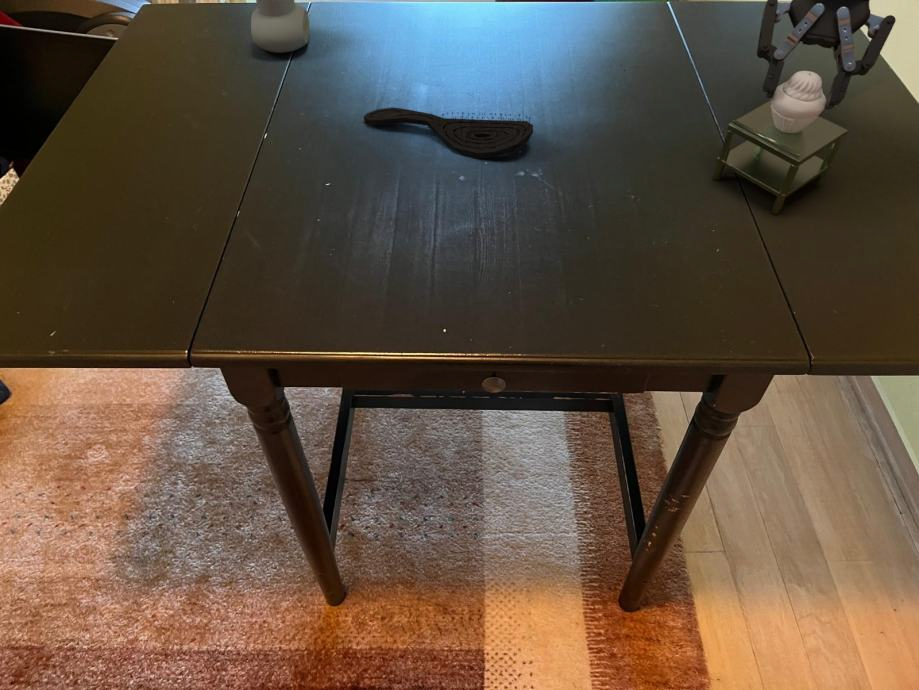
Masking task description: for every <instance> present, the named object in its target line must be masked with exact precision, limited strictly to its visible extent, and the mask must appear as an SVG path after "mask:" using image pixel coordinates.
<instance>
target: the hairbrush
mask: <svg viewBox="0 0 919 690" xmlns="http://www.w3.org/2000/svg"><path fill="white" fill-rule="evenodd" d="M456 113H457V114H459V111H457V112H456ZM464 113H465V112H461V118H458V116H454V117H450V118H449V117H444V115H445V114H444V113H442V114H441V116H438V115H436V114H433V113H429V112H428V113H427V112H423V111H417V110H413V109H407V108H400V107H394V106H393V107H386V108H385V107H384V108H378V109H374V110H372V111H368V112H367V113H365V114H364V115H363V122H364V123H366V124H367V125H370V126H381V125H394V124H395V125H397V124H411V125H418V126H419V125H420V126H426V127H428V128H429V130H431V132H433V133H434V135H436V136H437V137H438V138H439V139H440V140H441V142H443V144H444V145H445V146H446V147H447V148H449V149H450V150H452V151H454V152H456V153H458V154H459V155H461V156H466V157H471V158H475V159H481V158H482V159H484V158H485V159H486V158H497V157H500V156H502V155H505V154H508V153H511V152H513V151H516V150H517V149H519V148H520V147H521V146H523V145H525V143H527V142H529V140H530V138H531V137H532V135H533V133H534V124H532V123H531V117H530V116H527V115H525V118H528V119H529V120H524V118H522V119H523V120H522V119H521V118H520V117H521V113H518V116H519V117H518V118H516V116H517V115H516V114H514V118H510V117H511V116H512V114H511V113H510V114H509V117H508V118H507V119H505V118H506V116H507V113H505V114H504V116H505V117H502V116H503V114H502V113H499V115H500V117H497V118H498V119H494V118H495V117H494V116H491V119H489V116H487V119H484V116H481V119H479V116H480V115H483V113H482V112H478V116H476V118H474V116H471V117H469V116H470V113H469V112H468V115H467V116H468V117H467V116H465V118H464ZM446 114H447V115H448V114H449V113H448V112H446ZM453 114H454V112H453V111H452V112H451V115H453ZM471 115H474V112H472V113H471ZM489 115H492V112H490V113H489ZM494 115H495V116H496V113H494ZM500 118H502V119H500ZM515 118H516V120H515ZM499 119H500V120H499Z"/></svg>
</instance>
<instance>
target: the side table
mask: <svg viewBox="0 0 919 690" xmlns="http://www.w3.org/2000/svg"><path fill="white" fill-rule="evenodd" d="M726 130H727V132H726V135H725V139H724V141H723V145H722V148H721V150H720V154H719V156H718V157H717V159H716V165H715V168H714V172H713V175H712V179H713V180H715V181H721V178H722V176H723V172H724V170H725V168H727V169H728V170H730V171H732V172H734V173H736V174H737V175H739V176H741V177H743V178H744V179H746V180H748V181H749V182H751V183H753V184H755V185H756V186H758V187H760V188H762V189H764V190H765V191H767V192H769V193H771V194H772V195H774V196H776V198H775V199H774V202H773V204H772V207H771V209H770V213H771V214H772V215H774V216H775V215H776V216H777V215H779V214H780V212H781V209H782V208H783V205H784V203H785V201H786V198H787V197H790V195H792V194H794V193H795V192H796V191H798V190H800V189H801V188H802V187H804V186H806V185H807V184H809V183H810V182H812V184H813V186H815V187H821V186H822V184H823V182H824V180H825V178H826V176H827V174H828V172H829V170H830V169H831V168H832V163H833V161H834V159H835V158H836V155H837V153H838V151H839V148H840V147H841V145H842V142H843V140H844V138H845V137H847V134H848V132H849V130H848V129H846V128H844V127H843V126H841V125H838V124H836V123H834V122H832V121H830V120H828V119H826V118H823V117H821V116H820V115H818V117H817V118H816V119H815V120H814V121H812V122H811V123H810V124H809V125H808V126H806V127H805V128H804V129H803V130H801V131H800V132H798V133H793V134H792V133H784V132H782V131H780V130H778V129H777V128H776V127H775V125H774V121H773V116H772V110H771V100H769V101H767V102H765V103H763V104H761V105H760V106H759V107H756V108H755V109H753V110H751V111H749V112H748V113H746V114H744V115H742V116H741V117H739V118H737V119H732V121H731V122H730V123H729V124H728V125H727V129H726ZM736 136H737V137H738V136H739V137H740V138H742V139H744V140H746V141H744V142H742V143H741V144H739V145H737V146H735V147H733V148H732V146H733V143H734V140H735V138H736ZM827 148H828V150H827V152H826V154H825V156H824V159H822V158H821V157H818V156H816V155H818V154H821V152H823V151H824V150H826V149H827Z"/></svg>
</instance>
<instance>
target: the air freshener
mask: <svg viewBox="0 0 919 690" xmlns="http://www.w3.org/2000/svg"><path fill="white" fill-rule="evenodd" d="M255 2H256V6H257V7H256V9H255V10H254V11H253V12H252V14H251V17H250V18H251V19H250V33H251V39H252V41H253V44H254V45H255V46H256V47H258V48H259V49H262V50H264V51H267V52H270V53H276V54H284V53H285V52H286V53H291V52H294V51H297V50H299V49H301V48H302V47H304V46H305V45H306V44H308V42H309V40H310V19H309V17H310V16H309V13H308V10H307V9H306V8H304V7H303V6H302V5H299V4H297V3H295V0H255Z"/></svg>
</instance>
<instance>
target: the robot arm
mask: <svg viewBox="0 0 919 690" xmlns="http://www.w3.org/2000/svg"><path fill="white" fill-rule="evenodd" d="M870 1H871V0H791V1H779V0H766V3H765V5H764V8H763V11H762V17H761V23H760V28H759V29H760V30H759V37H758V43H757V49H756V56H757V57H758V58H759V59H763V60H766V61H767V62H768V70H767V72H766V75H765V78H764V82H763V84H762V92H763V93H766V95H765V98H766V99H770V100H771V99H772V98H773V96H774V94H775V91H776V88H777V87H778V86H779V85H778V84H779V81H780V78H781V76H782V72H783V68H784V66H785V60H786V58H787V57H788V56H789V55H790V54H791V53H792V52H793V51H794V50H795V49H796V48H797V46H798V45H799V44H800V43H802V45H806V46H815V45H817V46H819V47H821V48H823V49H832V53H833V58H834V60H835V63H836V69H837V73H836V75H835V76H834V78H833V81H832V83H831V87H830V91H829V93H828V96H827V98H826V106H825V108H824V110H825V109H826V110H833V108H835V106H839V105H840V104H841V102H842V101H844V99H845V97H846V94H847V90H848V87H849V84H850V81H851V78H852V77H854V76H861V77H862V76H865V75H866V74H868V73H869V72H870V70H871V69H872V68H874V66H875V64H876V62H877V60H878V58H879V56H880V54H881V52H882V50H883V49H884V46H885V44H886V42H887V40H888V38H889V36H890V34H891V31H892V29H893V28H894V26H895V24H896V22H897V21H896V19H897V18H896V17H895V16H894V15H892V14H889V15H886V16H885V17H883V16H879V15H876V14H873V13H871V8H870ZM785 14H786V15H788V17H789V20H790V22H791V25H792V27H793V30H791V32H790V33H789V34H788V36H787V37H786V38H785V40H784V41H782V43H781V44H780V45H779V46H778V47H776V46H775V45H774V44H772V42H773V35H774V31H775V30H774V29H775V24H777V23H779V22H781V20H782V19H783V18H782V17H783V16H784V15H785ZM863 26H866V27H867V34H866V35H867V37H868V38H869V39H870V41H869V43H868V45H867V47H866V50H865V51H864V54H863V56H862V58H861V59H857V60H856V58H855V52H854V48H855V44H854V37H853V35H854V34H855V33H856V32H857V31H859V30H861V28H862V27H863Z"/></svg>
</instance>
